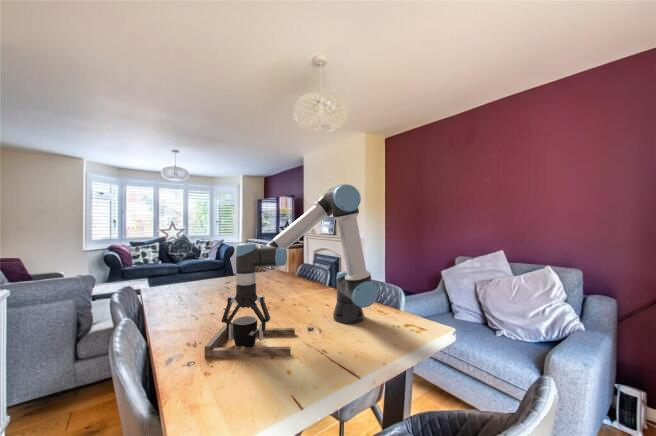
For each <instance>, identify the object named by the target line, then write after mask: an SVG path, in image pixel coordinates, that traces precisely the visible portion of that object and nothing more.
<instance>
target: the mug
mask: <svg viewBox="0 0 656 436" xmlns="http://www.w3.org/2000/svg"><path fill="white" fill-rule="evenodd" d="M232 322H233V334H234V337H233V341H234V345H235V347H236V346H240V345H241V346H245V347H255V344H256V341H257V336H256V335H257V328H258V317H255V316H251V315H246V316H239V317H236V318H235V319H234V320H233V321H232Z"/></svg>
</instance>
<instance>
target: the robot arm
mask: <svg viewBox="0 0 656 436" xmlns="http://www.w3.org/2000/svg"><path fill="white" fill-rule="evenodd" d="M361 197H362V196H361V194H360V192H359V190H358V189H357V187H356V186H354V185H351V184H347V183H345V184H340V185H337V186H335V187H331V188H329V189H328V190H327V191H325V193H323V195H321V196H320V197H319V198H318V199H316V201H314V203H313V206H312V207H310V208H309V209H308V210H307V211H306V212H304V213H303V214H302V215H301V216H300V217H298V218H297V219H296V220H295V221H293V222H292V223H291V224H289V226H287V227H286V228H285V229H284V230H282V231H280V233H279V234H277V235H276V236H275V237H273V238H272V239H271V240H270V241H269V242H268V243H266V244H264V245H262V246H261V247H257V244H256V243H254V242H253V243H252V242H250V243H249V242H248V243H247V242H245V243H238V244H237V245H236V251H235V252H236V253H235V265H236V266H235V271H236V272H235V273H236V274H235V283H236V285H235V296H233V295H229V296H228V298H227V304H226V306H225V310H224V311H223V312H224V313H223V314H222V315H223V316H222V318H221V323H225V324H226V325H227V332H229V337H228V342H232V341H233V340H234V337H233V321H232V320H233V319H234V317H235V316H236V314H237V313H238V311H239V310H240V309H245V308H248V309H251V310H253V312H254V314H255V315H256V316H257V317H256V318H257V319H258V320H259V321H260V323H259V327H258V328H259V336H258V337H259V342H262V340H263V338H264V336H263V331H265V329H266V328H267V326H266V323H268V322H269V321H270V320H271V316H270V313H269V310H268V308H267V305H266V302H265V295H260V296H259V295H258V294H257V283H256V282H257V268H269V267H271V268H272V267H276V268H277V267H281V266H283V267H284V266H286V265H287V264H288V263H287V262H288V252H287V249H289V247H291V246H292V245H293V244H294V243H296V242H297V241H299V240H300V239H301V238H302V237H303V236H304V235H305V234H307V233H308V232H309V231H310V230H312V229H313V228H314V227H315V226H316V225H318V224H319V223H320V222H321V221H322V220H324V219H328V218H330V217H331V216H332V218H333V219H334V220H336V222H337V226H338V227H337V228H338V231H339V235H340V236H339V237H340V242H341V246H342V253H343V258H344V263H345V267H346V268H345V269H346V271H344V270H343V271H339V272H337V274H336V278H335V279H336V304H335V307H334V310H333V312H332V316H333V317H332V318H333V320H334V321H336V322H338V323H341V324H357V323H361V322H363V321H364V320H365V315H364V313H365V312H364V310H363V309H364V308H369V307H371V306H372V305H373V304H374V303H375V301H376V300H377V299H378V295H379V290H378V287H377V285H376V284H375V283H374V282H373V280H372V275H371V272H370V271H368V270H367V268H366V260H365V256H364V251H363V245H362V240H361V235H360V230H359V224H358V215H359V214H360V210H359V207H360V205H361V204H360V203H361V200H362V199H361ZM256 301H258V302H259V305H260V308H261V310H262V311H261V310H260V308H259V307H258V304H257V303H256ZM234 302H236V303H237V304H236V306H235V308H234V309H233V311H232V312H231V314H230V310H231V309H232V306H233V303H234ZM262 312H263V313H262ZM229 314H230V315H229ZM228 316H229V317H228Z"/></svg>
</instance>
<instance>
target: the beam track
mask: <svg viewBox="0 0 656 436" xmlns="http://www.w3.org/2000/svg"><path fill="white" fill-rule="evenodd" d="M295 333H296V327H270V328H268V327H266V329H265V331H263V337H290V336H291V337H295V336H296V334H295ZM256 337H259V327H257V335H256ZM227 338H229V332H227V324H226V325H225V324H224V325H222V327H221V328H220V329H219V330H218V331H217V332H216V333H215V334H214V335H213V337H212V338H210V340H209V341H208V342H207V343H206V344H205V345H204V359H207V358H208V359H212V358H214V359H216V358H217V359H218V358H256V357H257V358H258V357H261V358H263V357H264V358H265V357H267V358H268V357H291V353H292V352H291V350H292V348H291V346H253V347H245V346H241V345H240V346H235V347H221V345H222V344H223V342H224V341H225V340H226V339H227ZM233 338H234V334H233Z"/></svg>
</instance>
